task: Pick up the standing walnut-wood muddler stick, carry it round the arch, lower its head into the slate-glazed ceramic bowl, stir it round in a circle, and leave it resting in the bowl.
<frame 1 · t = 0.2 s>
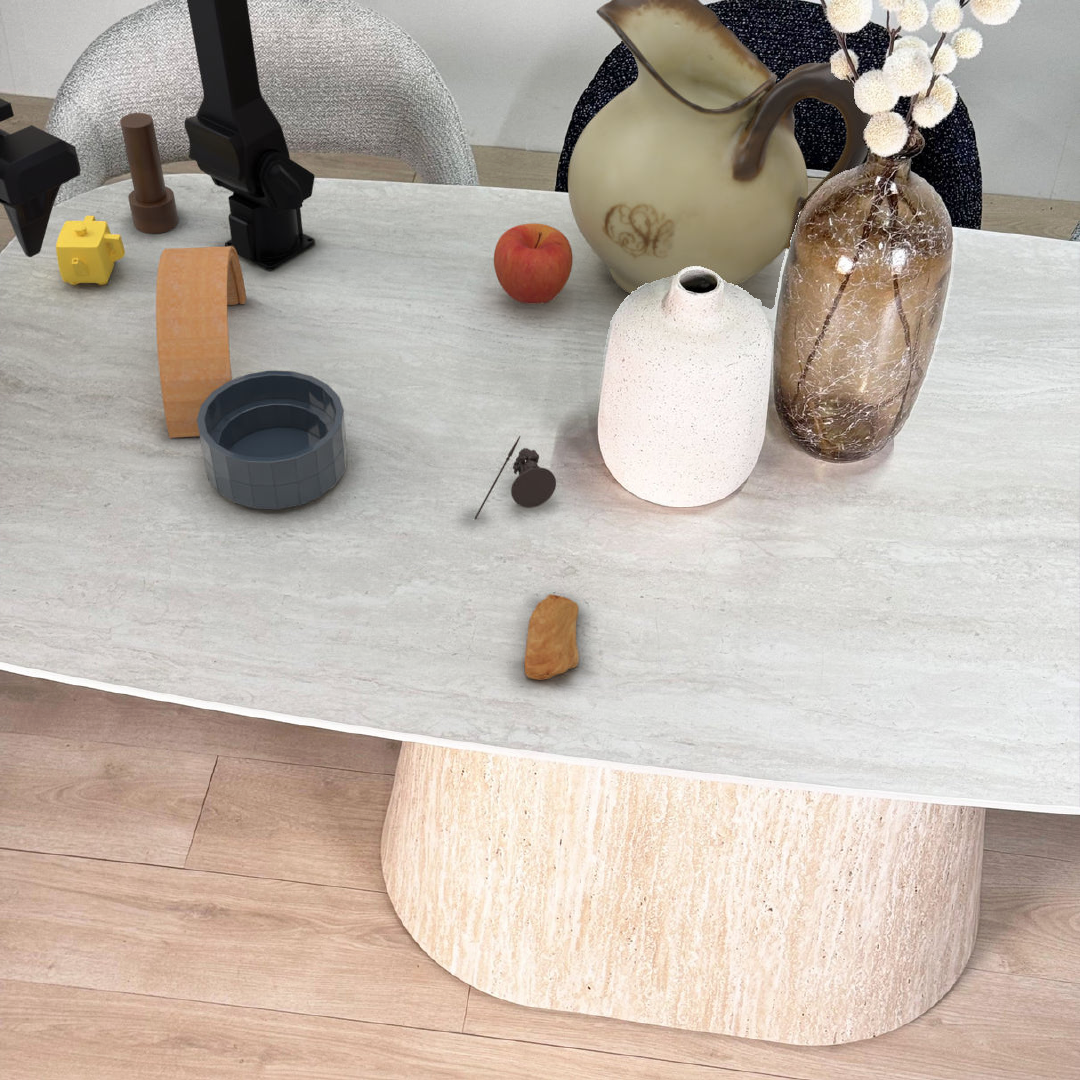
arch: (210, 364, 112), on the table, touching bowl
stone: (521, 619, 91), point 1 cm above the table
pitcher: (678, 274, 126), on the table
dark disc and stick: (526, 486, 99), point 2 cm above the table
apple: (531, 299, 121), on the table
bowl: (277, 466, 103), on the table
teapot: (98, 277, 121), on the table
muddler: (156, 222, 128), on the table
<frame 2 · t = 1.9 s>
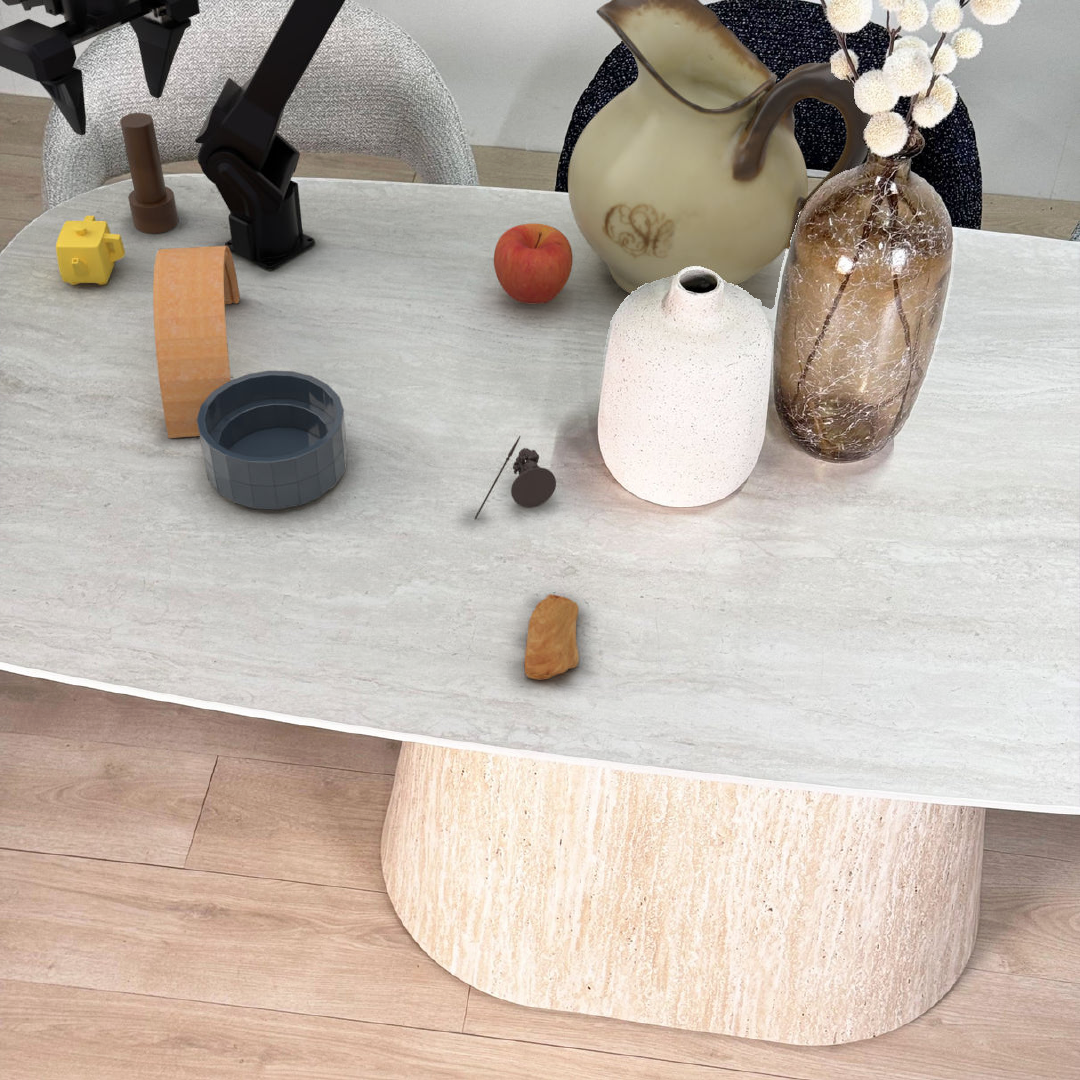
hand: (118, 114, 116), 13 cm above the table, tool pointing down, fingers open, 9 cm apart
nothing on the table moved.
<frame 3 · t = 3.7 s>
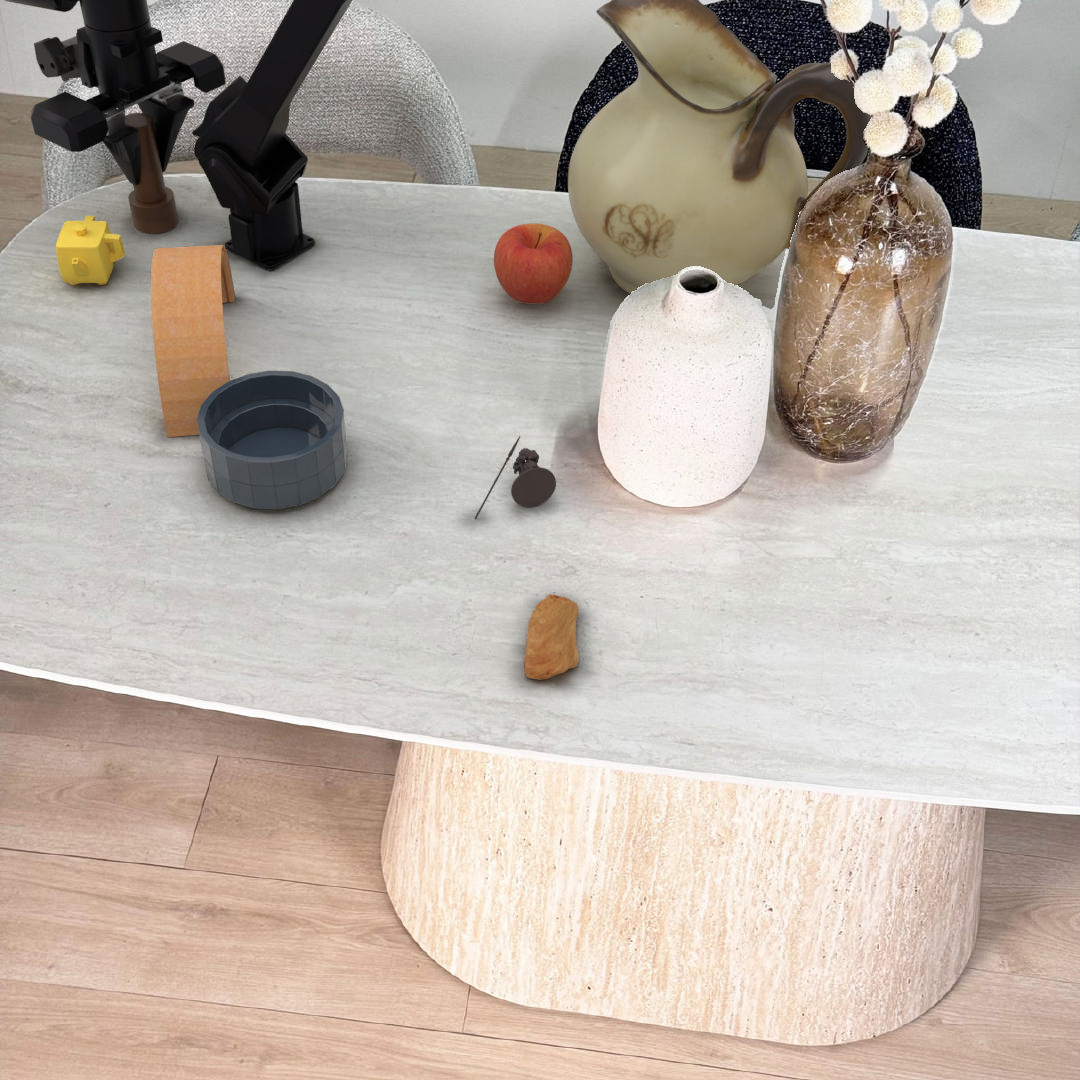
hand: (147, 177, 124), 5 cm above the table, tool pointing down, fingers closed on muddler, 3 cm apart
arch: (203, 363, 112), on the table
muddler: (156, 222, 128), on the table, touching gripper
everything else where it was.
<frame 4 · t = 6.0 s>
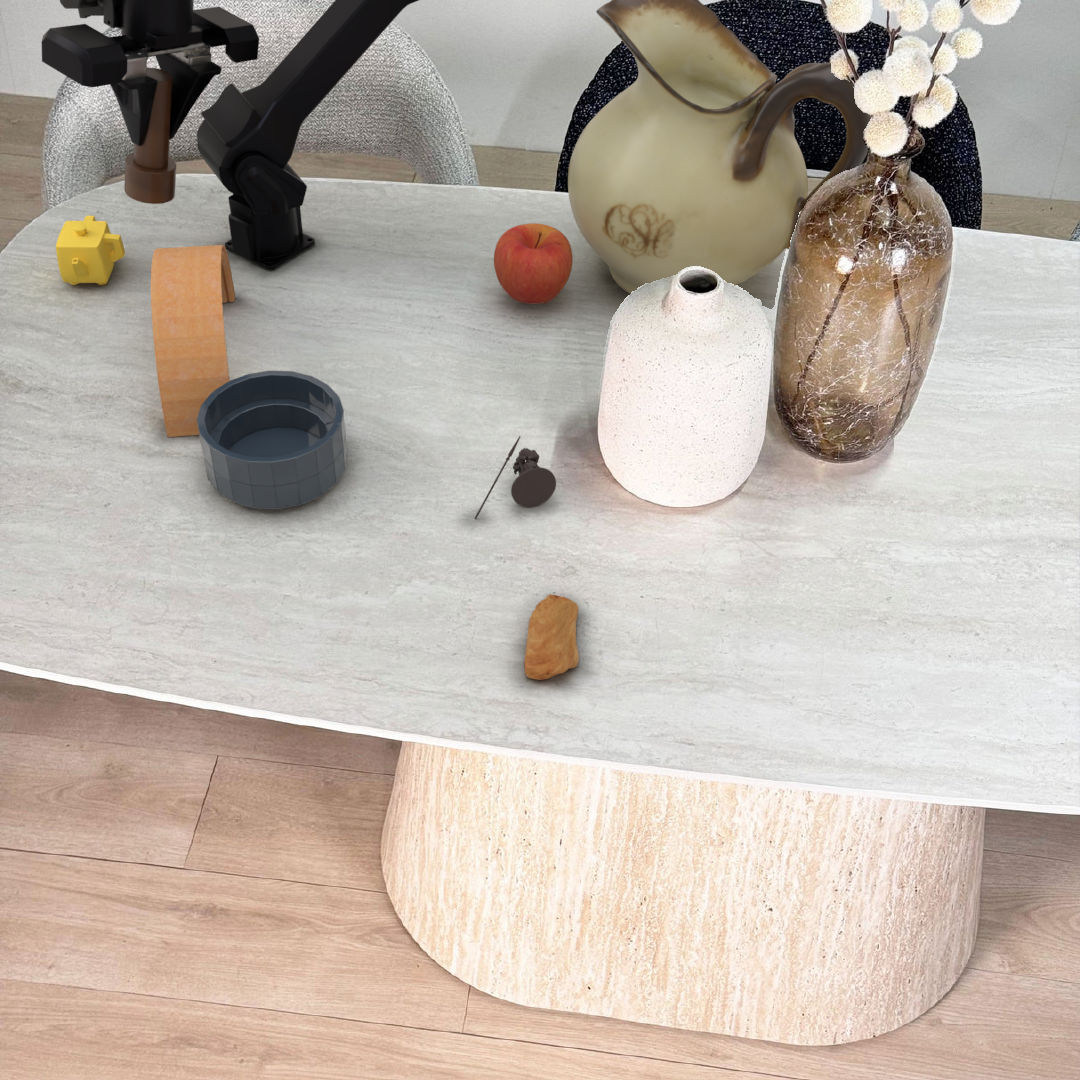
hand: (152, 140, 112), 14 cm above the table, tool pointing down, fingers closed on muddler, 3 cm apart
muddler: (149, 192, 115), point 9 cm above the table, tilted 12°, touching gripper
everything else where it was.
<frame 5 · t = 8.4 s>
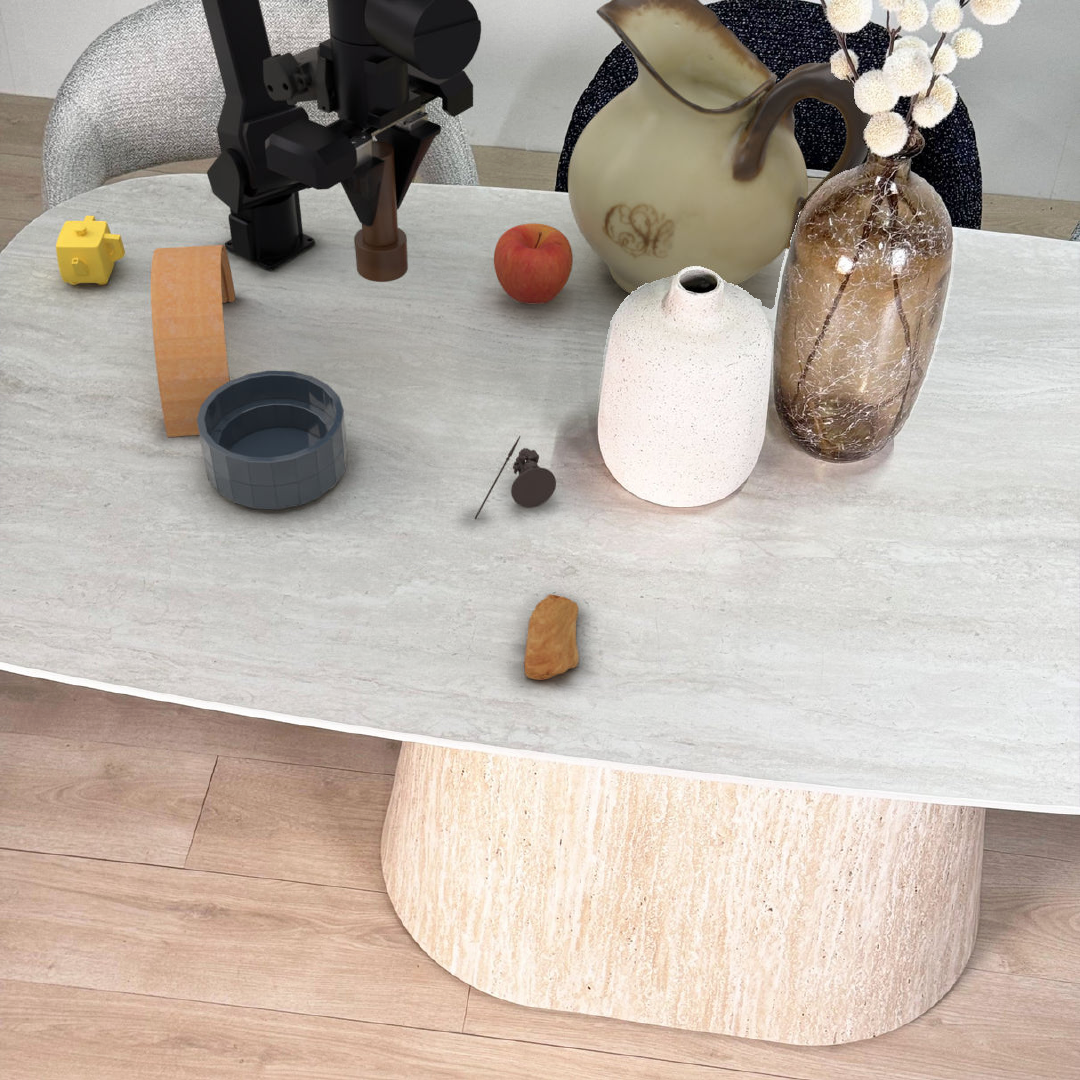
hand: (379, 216, 105), 13 cm above the table, tool pointing down, fingers closed on muddler, 3 cm apart
muddler: (382, 268, 109), point 8 cm above the table, touching gripper
everything else where it was.
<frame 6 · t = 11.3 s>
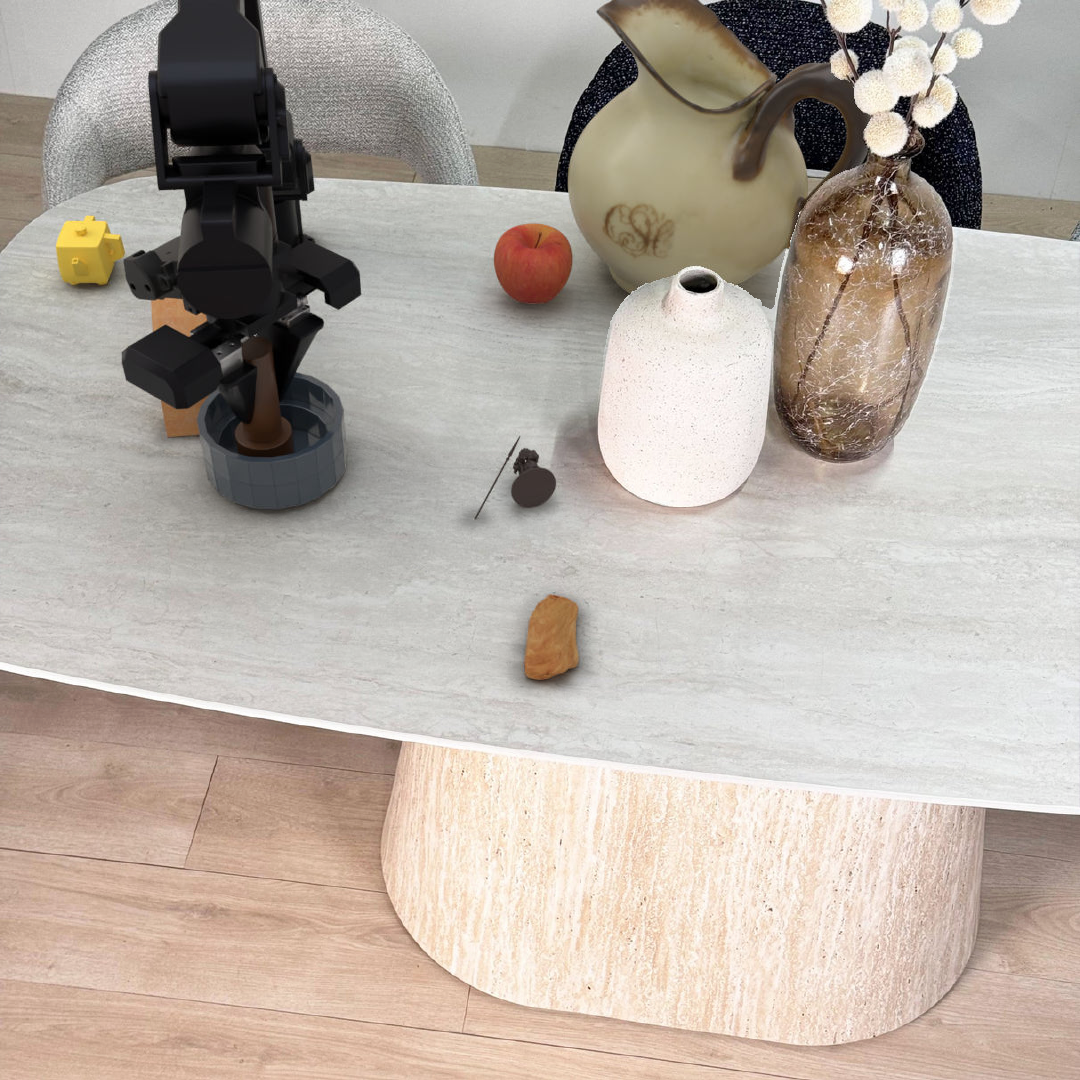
hand: (260, 410, 98), 7 cm above the table, tool pointing down, fingers closed on muddler, 3 cm apart
muddler: (267, 459, 101), point 2 cm above the table, touching gripper
everything else where it was.
when the fingers open (6 cm above the table, at t = 13.4 s): muddler stays where it is, resting on bowl.
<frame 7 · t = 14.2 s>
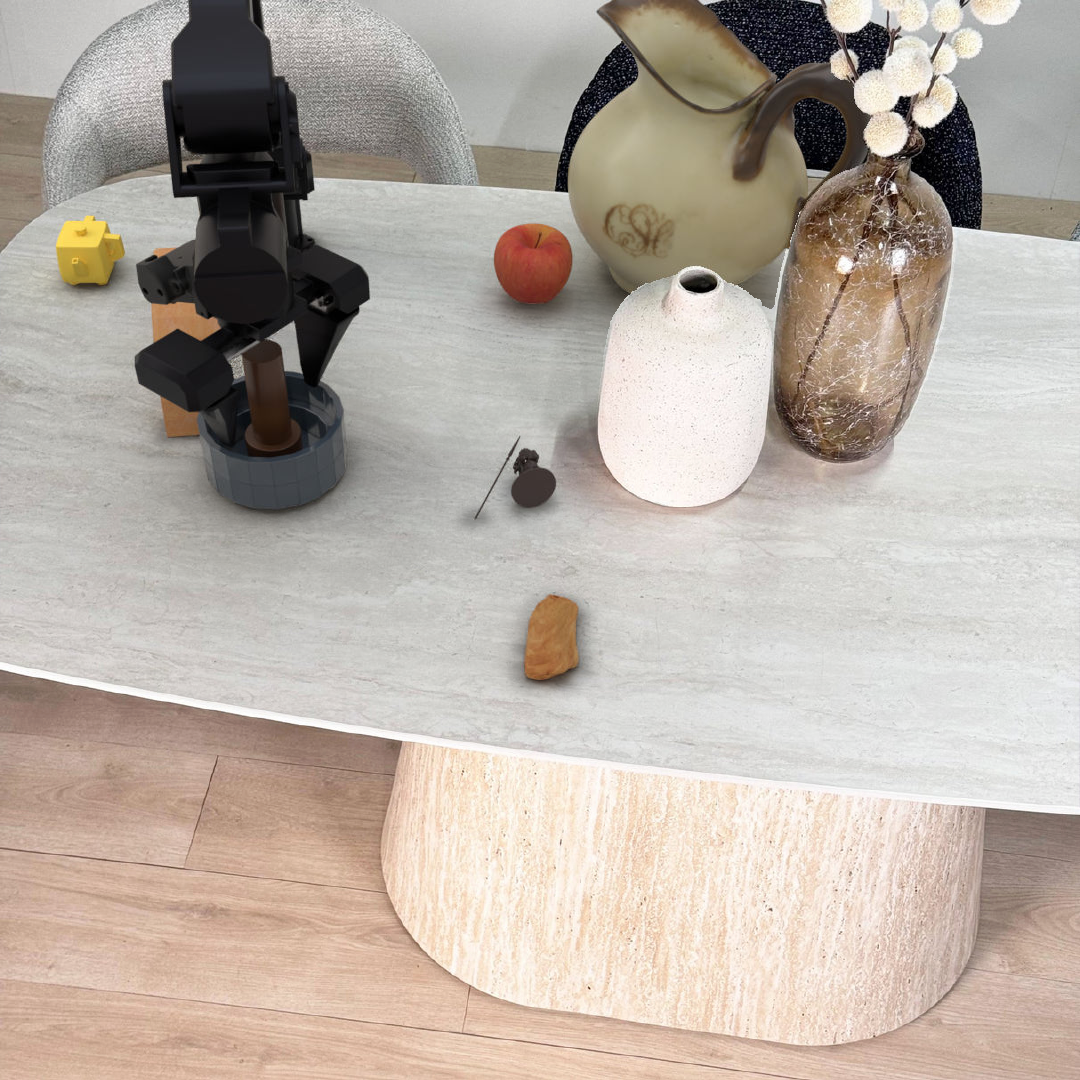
hand: (270, 413, 99), 6 cm above the table, tool pointing down, fingers open, 9 cm apart
muddler: (276, 461, 102), point 1 cm above the table, touching bowl
everything else where it was.
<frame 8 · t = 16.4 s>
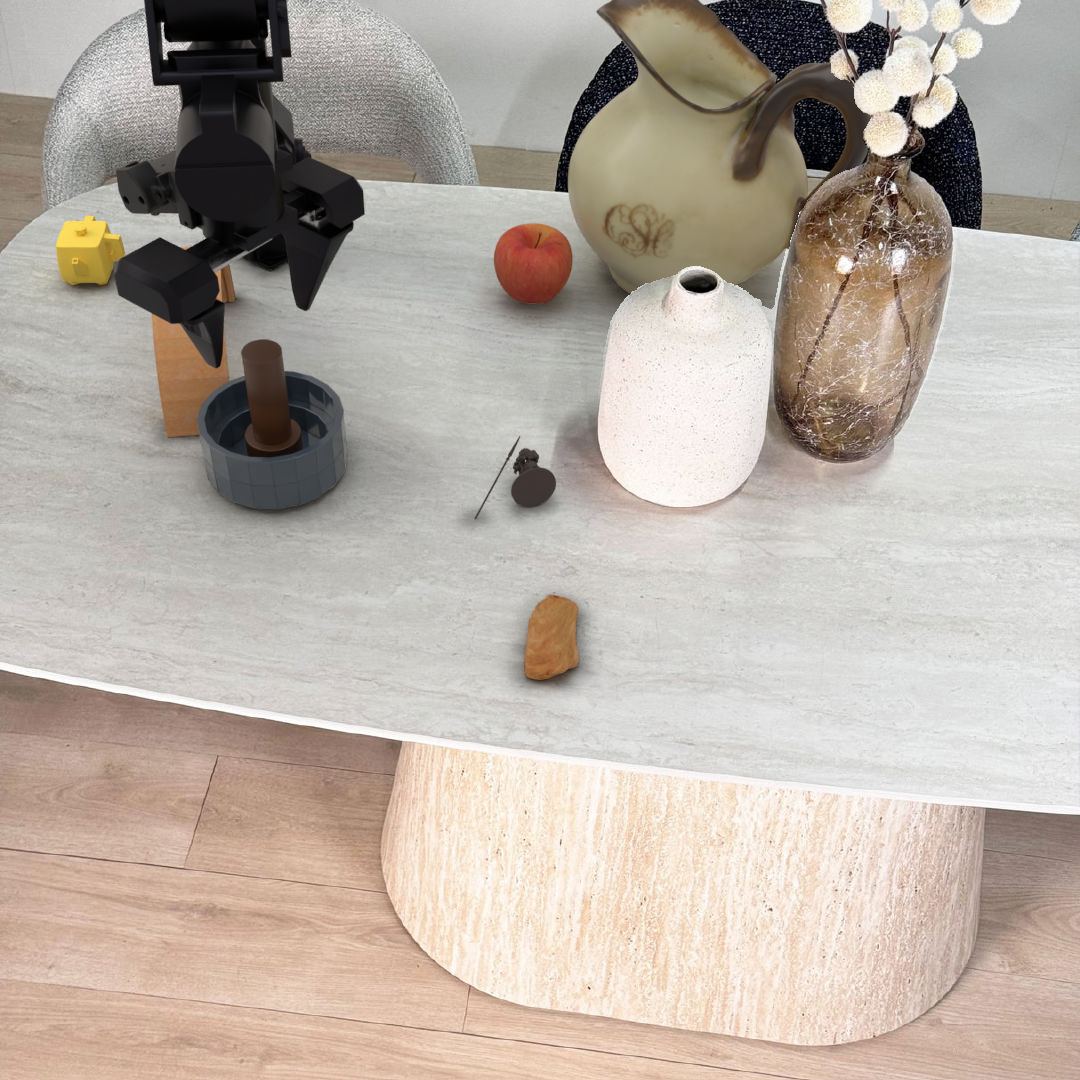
hand: (259, 336, 94), 13 cm above the table, tool pointing down, fingers open, 9 cm apart
nothing on the table moved.
at the end: muddler inside the target area in the bowl (0.1 cm from its centre), point 0.6 cm above the bowl's base; muddler moved 40.2 cm from its start; the gripper is holding nothing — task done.
